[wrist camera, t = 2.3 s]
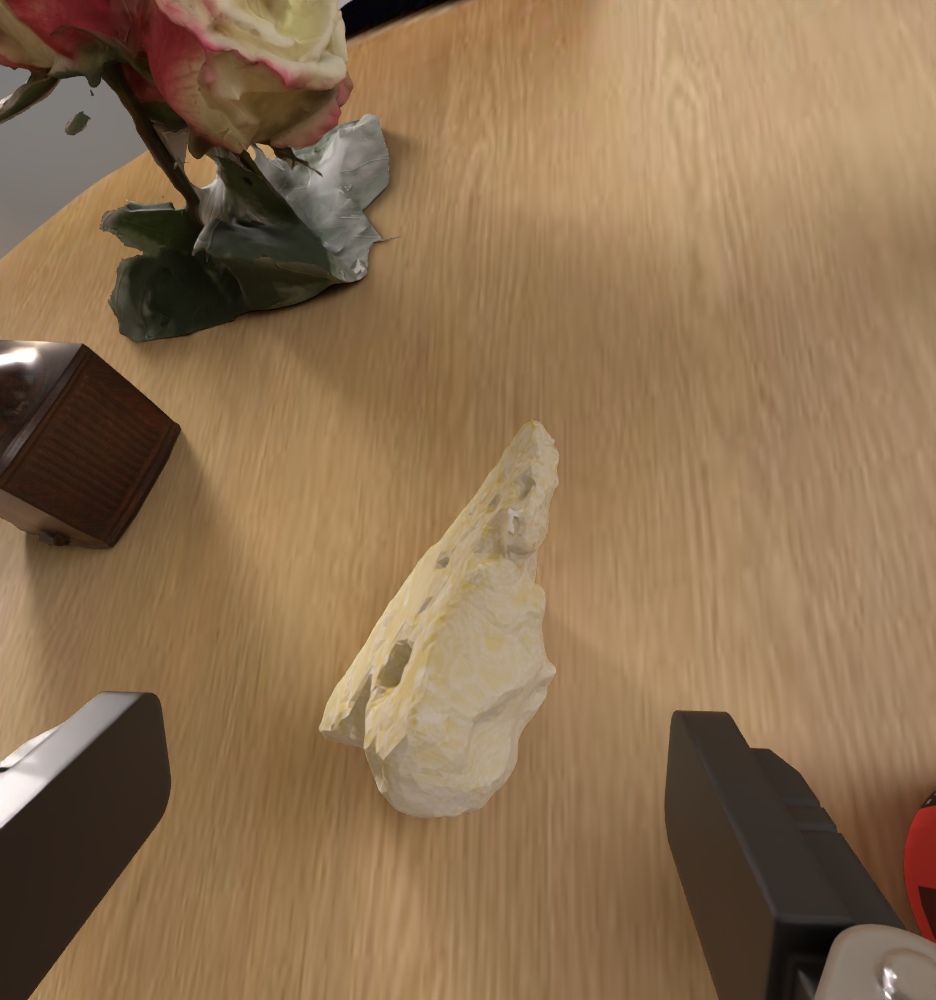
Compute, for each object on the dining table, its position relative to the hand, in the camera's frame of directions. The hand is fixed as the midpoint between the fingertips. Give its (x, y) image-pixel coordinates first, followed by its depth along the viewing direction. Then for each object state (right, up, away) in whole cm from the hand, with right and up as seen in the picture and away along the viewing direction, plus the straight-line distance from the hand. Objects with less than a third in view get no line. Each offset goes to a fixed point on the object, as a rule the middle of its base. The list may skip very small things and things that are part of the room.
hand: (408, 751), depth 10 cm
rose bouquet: (-16, +29, +47) cm, 57 cm away
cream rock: (+2, -3, +22) cm, 22 cm away
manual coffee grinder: (-24, +5, +36) cm, 43 cm away
